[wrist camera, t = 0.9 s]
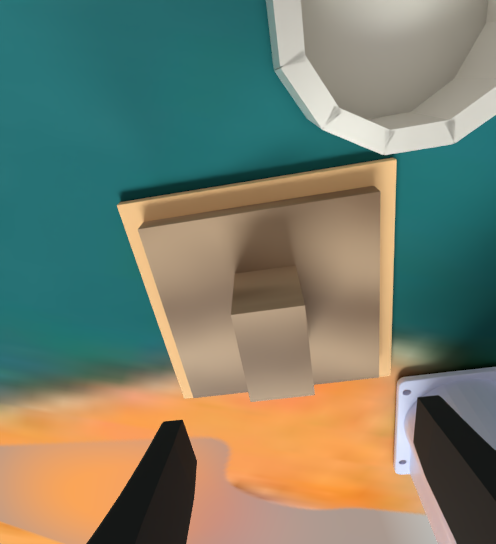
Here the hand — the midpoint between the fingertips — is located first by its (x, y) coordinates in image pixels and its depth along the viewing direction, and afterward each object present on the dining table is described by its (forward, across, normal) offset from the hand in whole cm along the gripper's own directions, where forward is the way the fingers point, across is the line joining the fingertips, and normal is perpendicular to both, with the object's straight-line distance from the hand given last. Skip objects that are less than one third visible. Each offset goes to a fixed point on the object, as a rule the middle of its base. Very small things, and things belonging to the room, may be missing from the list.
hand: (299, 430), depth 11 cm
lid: (+9, +1, +1) cm, 9 cm away
